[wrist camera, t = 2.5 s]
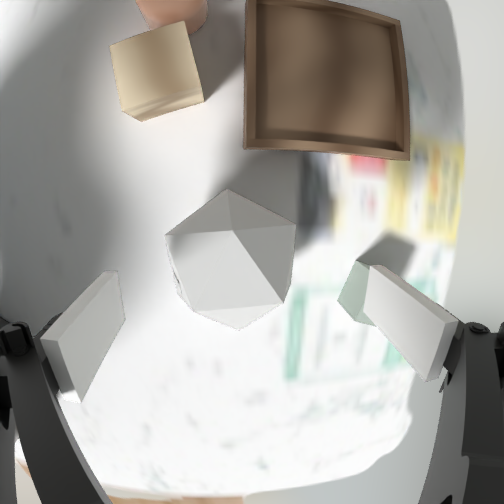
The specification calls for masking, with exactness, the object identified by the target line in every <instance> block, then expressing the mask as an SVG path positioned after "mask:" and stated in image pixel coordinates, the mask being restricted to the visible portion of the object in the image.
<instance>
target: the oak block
mask: <svg viewBox="0 0 504 504" xmlns="http://www.w3.org/2000/svg"><path fill="white" fill-rule="evenodd" d="M109 47H110V53H111V58H112V64H113V70H114V75H115V80H116V85H117V90H118V95H119V100H120V104H121V109H122V111H123V112H124V113H126V114H128V115H130V116H132V117H133V118H135V119H137V120H139V121H140V122H143V121H146V120H148V119H151V118H154V117H157V116H160V115H163V114H166V113H169V112H172V111H176V110H179V109H182V108H186V107H189V106H192V105H196V104H200V103H203V102H204V97H203V92H202V87H201V83H200V79H199V75H198V71H197V67H196V64H195V60H194V56H193V52H192V49H191V45H190V41H189V37H188V33H187V29H186V26H185V22H184V21H180V22H177V23H173V24H170V25H166V26H163V27H160V28H157V29H153V30H150V31H147V32H144V33H142V34H139V35H136V36H133V37H130V38H128V39H125V40H123V41H120V42H118V43H115V44H113V45H110V46H109Z"/></svg>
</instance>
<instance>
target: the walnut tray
mask: <svg viewBox="0 0 504 504" xmlns="http://www.w3.org/2000/svg"><path fill="white" fill-rule="evenodd" d="M243 149H259V150H289V151H308V152H323V153H335V154H346V155H356V156H366V157H374V158H382V159H390V160H408V161H410V115H409V94H408V80H407V69H406V60H405V51H404V44H403V37H402V30H401V24H400V21H399V20H396V19H393V18H390V17H387V16H384V15H381V14H378V13H375V12H371V11H368V10H364V9H361V8H357V7H353V6H349V5H345V4H341V3H337V2H332V1H327V0H246V4H245V49H244V125H243Z"/></svg>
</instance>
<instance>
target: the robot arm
mask: <svg viewBox="0 0 504 504" xmlns="http://www.w3.org/2000/svg"><path fill="white" fill-rule="evenodd" d="M363 312H364V313H365V314H366V315H367V316H368V317H369V319H370V320H371V321H372V322H373V323H374V324H375V325H376V326H377V327H378V329H379V330H380V331H381V332H382V333H383V334H384V335H385V337H386V338H387V339H388V340H389V341H390V342H391V343H392V344H393V346H394V347H395V348H396V349H397V350H398V351H399V352H400V354H401V355H402V356H403V357H404V358H405V359H406V361H407V362H408V363H409V364H410V365H411V366H412V368H413V369H414V370H415V371H416V372H417V373H418V375H419V376H420V377H421V378H422V379H423V381H424V382H427V381H430V380H434V379H437V378H439V375H440V373H441V370H442V368H443V366H444V367H445V368H446V369H447V370H448V372H447V374H446V377H445V379H444V382H443V384H442V386H441V388H440V391H439V392H442V390H443V389H444V390H443V399H442V406H441V412H440V419H439V424H438V430H437V435H436V440H435V445H434V449H433V453H432V458H431V462H430V466H429V470H428V474H427V477H426V480H425V484H424V488H423V491H422V494H421V497H420V500H419V503H418V504H504V322H503V323H502V324H501V326H500V329H499V332H498V333H491V332H490V330H489V329H488V328H487V327H486V326H484V325H482V324H479V323H474V322H470V323H466V324H464V323H463V322H461V321H460V320H459V319H457V318H456V317H455V316H454V315H452V314H450V313H449V312H448V311H447V310H444V308H443V307H442V306H440V305H439V304H437V303H435V302H434V301H432V300H431V299H430V298H428V297H427V296H425V295H424V294H423V293H421V292H420V291H418V290H417V289H416V288H414V287H413V286H411V285H410V284H409V283H407V282H406V281H404V280H403V279H402V278H400V277H399V276H397V275H396V274H394V273H393V272H391V271H390V270H389V269H387V268H386V267H384V266H383V265H370V270H369V277H368V284H367V290H366V297H365V303H364V309H363ZM124 321H125V315H124V309H123V303H122V297H121V291H120V285H119V278H118V271H104V272H103V273H102V274H101V275H100V276H99V277H98V278H97V279H96V280H95V281H94V282H93V283H92V284H91V285H90V286H89V287H88V288H87V289H86V290H85V291H84V292H83V293H82V294H81V295H80V296H79V297H78V298H77V299H76V300H75V301H74V302H73V303H72V304H71V305H70V306H69V307H68V308H67V309H66V311H65V312H64V313H60V314H58V315H57V316H55V317H53V318H52V319H51V320H50V321H49V322H48V323H47V325H46V326H45V327H44V328H43V330H41V331H40V332H39V333H38V334H37V335H36V336H35V338H34V339H32V336H31V333H30V330H29V327H28V325H27V324H26V323H24V322H14V323H10V324H9V323H8V322H7V321H5V320H4V319H2V318H1V317H0V504H17V497H16V485H15V460H14V445H15V442H16V440H17V439H18V438H20V442H21V446H22V449H23V453H24V456H25V459H26V462H27V465H28V468H29V471H30V474H31V477H32V480H33V482H34V485H35V488H36V490H37V493H38V495H39V498H40V500H41V503H42V504H113V503H112V502H111V500H110V499H109V497H108V496H107V494H106V493H105V491H104V490H103V488H102V486H101V485H100V483H99V482H98V480H97V478H96V477H95V475H94V473H93V472H92V470H91V468H90V466H89V465H88V463H87V461H86V459H85V457H84V455H83V454H82V452H81V450H80V448H79V446H78V444H77V442H76V440H75V438H74V436H73V434H72V432H71V430H70V427H69V425H68V423H67V421H66V419H65V416H64V414H63V412H62V409H61V407H60V405H59V402H58V400H57V398H56V396H55V395H56V393H57V391H58V390H59V389H60V391H61V393H62V396H63V398H64V400H67V401H72V402H77V403H82V401H83V399H84V397H85V395H86V393H87V390H88V388H89V386H90V384H91V382H92V381H93V379H94V377H95V375H96V373H97V371H98V369H99V367H100V365H101V363H102V361H103V359H104V357H105V355H106V354H107V352H108V350H109V348H110V346H111V344H112V343H113V341H114V339H115V337H116V335H117V333H118V332H119V330H120V328H121V326H122V325H123V323H124Z"/></svg>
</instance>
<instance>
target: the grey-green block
mask: <svg viewBox="0 0 504 504" xmlns="http://www.w3.org/2000/svg"><path fill="white" fill-rule="evenodd" d="M369 270H370V265H367V264H364V263H362V262H359V261H357V260H356V261H355V263H354V265H353V267H352V270H351V272H350V274H349V276H348V279H347V281H346V283H345V285H344V287H343V289H342V292H341V294H340V296H339V298H338V300H337V301H338V302H339V303H340V305H341V306H342V307H343V308H344V309H345V310H346V312H347V313H348V314H349V315H350V316H351V317H352V319H353V320H354V321H356V322H360V323H364V324H368V325H372V326H376V325H375V324H374V323H373V322H372V321H371V320H370V319H369V317H368V316H367V315H366V314H365V313H364V312H363V309H364V303H365V297H366V290H367V284H368V277H369ZM376 327H377V326H376Z"/></svg>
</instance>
